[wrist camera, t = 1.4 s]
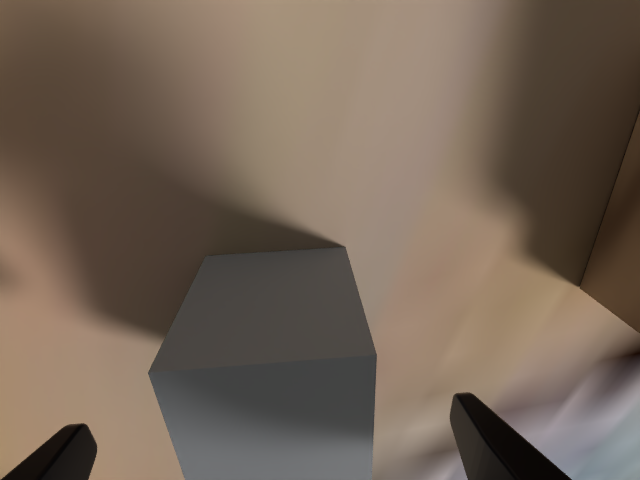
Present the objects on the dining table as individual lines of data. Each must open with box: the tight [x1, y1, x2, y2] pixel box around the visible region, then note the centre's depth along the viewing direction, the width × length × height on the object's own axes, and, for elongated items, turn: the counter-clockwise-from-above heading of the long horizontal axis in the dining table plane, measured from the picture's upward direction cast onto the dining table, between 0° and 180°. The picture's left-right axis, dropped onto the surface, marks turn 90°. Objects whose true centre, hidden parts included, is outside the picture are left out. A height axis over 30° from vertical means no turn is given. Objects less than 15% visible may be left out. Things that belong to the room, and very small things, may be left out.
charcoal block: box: [148, 247, 377, 480], centre depth 10 cm, size 5×5×5 cm
